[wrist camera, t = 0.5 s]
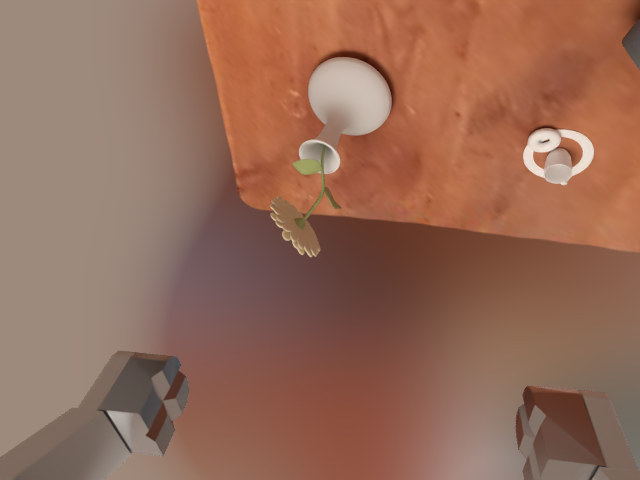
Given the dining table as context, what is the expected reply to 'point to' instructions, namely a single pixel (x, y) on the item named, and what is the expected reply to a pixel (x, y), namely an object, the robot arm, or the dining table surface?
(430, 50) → the dining table surface
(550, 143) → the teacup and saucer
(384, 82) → the flower in vase
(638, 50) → the bluetooth speaker
